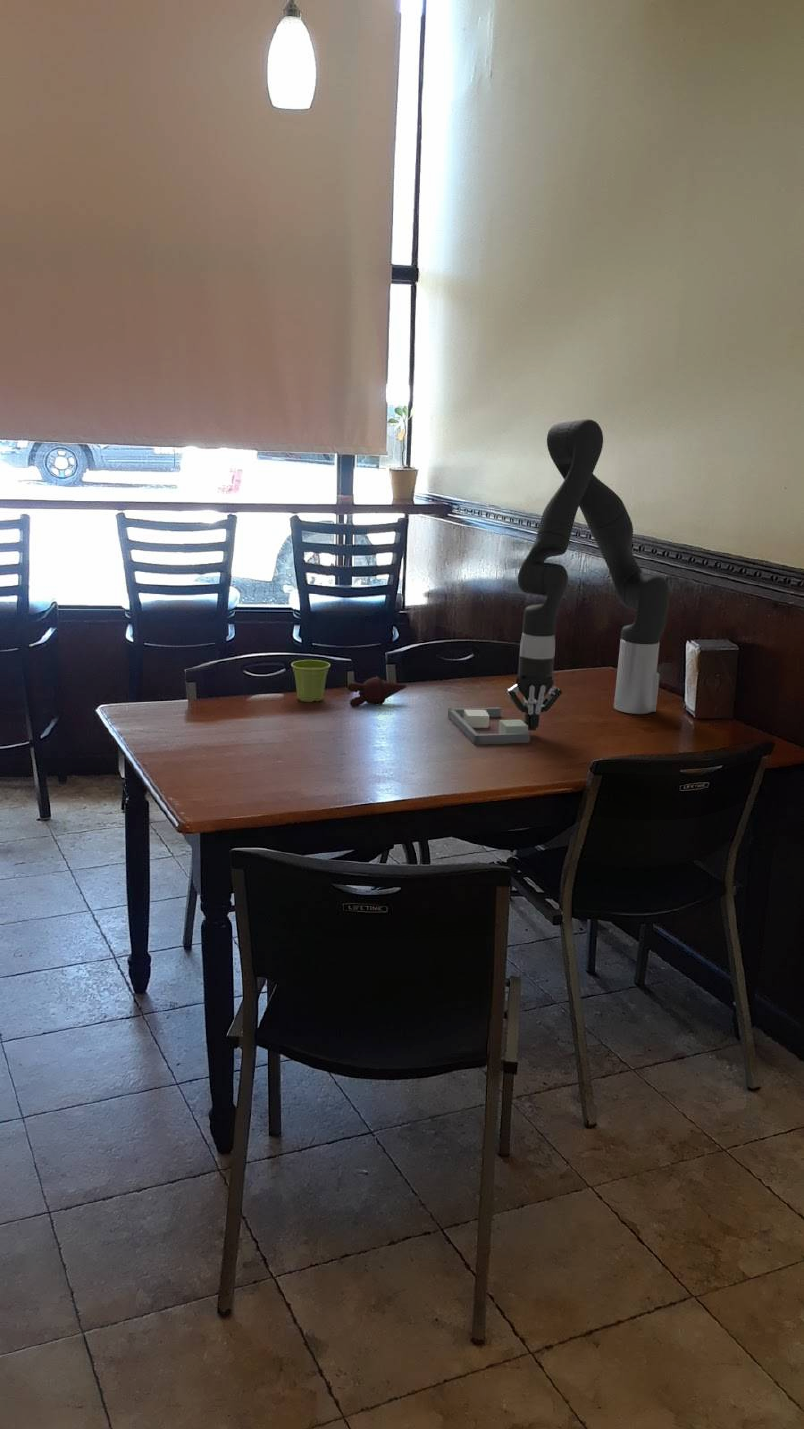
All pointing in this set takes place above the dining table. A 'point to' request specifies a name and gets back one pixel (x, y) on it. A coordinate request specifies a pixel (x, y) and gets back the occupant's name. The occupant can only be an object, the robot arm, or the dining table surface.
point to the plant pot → (310, 679)
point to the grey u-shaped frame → (476, 738)
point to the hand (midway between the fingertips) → (530, 729)
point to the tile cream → (476, 718)
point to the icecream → (373, 691)
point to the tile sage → (512, 726)
